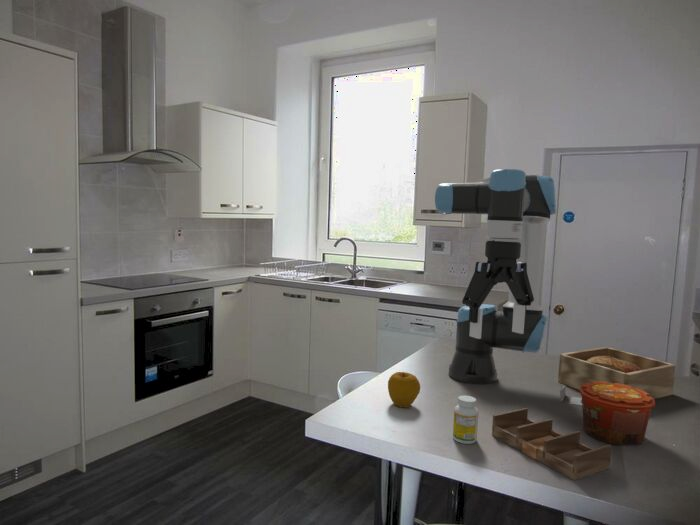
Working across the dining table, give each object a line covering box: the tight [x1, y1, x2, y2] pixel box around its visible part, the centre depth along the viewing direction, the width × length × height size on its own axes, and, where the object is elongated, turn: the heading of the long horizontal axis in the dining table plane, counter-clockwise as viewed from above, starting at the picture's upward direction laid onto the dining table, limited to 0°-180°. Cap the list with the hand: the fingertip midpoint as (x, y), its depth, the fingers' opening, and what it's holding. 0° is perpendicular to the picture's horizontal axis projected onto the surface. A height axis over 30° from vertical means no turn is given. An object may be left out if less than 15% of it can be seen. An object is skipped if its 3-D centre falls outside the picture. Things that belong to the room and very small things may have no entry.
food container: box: [578, 381, 656, 447], centre depth 118 cm, size 16×16×11 cm
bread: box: [587, 356, 642, 373], centre depth 152 cm, size 20×18×10 cm
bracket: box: [559, 384, 582, 407], centre depth 139 cm, size 7×10×4 cm, turn 57°
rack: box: [491, 407, 612, 481], centre depth 108 cm, size 22×11×5 cm, turn 29°
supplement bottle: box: [452, 395, 479, 445], centre depth 112 cm, size 5×5×10 cm
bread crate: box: [557, 346, 676, 400], centre depth 152 cm, size 22×24×9 cm
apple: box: [387, 371, 421, 408], centre depth 132 cm, size 9×8×9 cm
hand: (497, 335), depth 110 cm, fingers open, 13 cm apart
